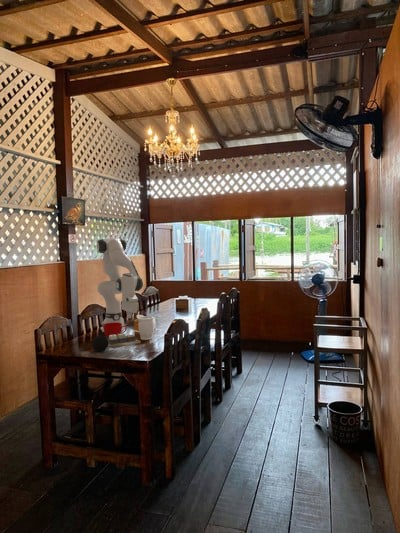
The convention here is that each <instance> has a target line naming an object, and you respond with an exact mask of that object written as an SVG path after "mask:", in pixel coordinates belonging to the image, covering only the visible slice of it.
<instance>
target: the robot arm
mask: <svg viewBox="0 0 400 533" xmlns="http://www.w3.org/2000/svg"><path fill="white" fill-rule="evenodd" d="M96 249H97V252H98V253H100V254H103V255H102V262H103V263H102V264H103V273H104V274H105V275H106V276H108V278H109V280H105V281H102V282H99V284H97V292H98V294H99V295H100V296H102V298H103V299H104V302H105V309H106V311H105V312H106V313H105V318H104V320H103V322H101V327H100V330H101V331H102V333H104V329H103V325H104V324H106V323H114V322H117V323H122V326H125V320H124V318H123V314H122V313H123V312H122V310H123V311H125V312H126V316H127V319H132V315H133V314H137V313H138V311H139V309H138V308H139V306H138V305H139V304H138V301H139V297H137V295H136V292H139V291H140V290H142V288H143V287H144V282H143V279H142V277H141V276H140V274H139V272H138V270H137V268H136V266H135V264H134V262H133V260H132V259H131V258H130V257H129V256H128V255H127V254H126V252H125V251H126V250H127V242H126V239H125V238H122V237H119V238H117V237H111V238H104V239H102V238H101V239H98V241H96ZM119 267H122V268H125V269H127V270H128V272H126V273H125V272H124V273H122V276H121V273H120V269H119ZM120 294H121V301H120V300H119V299H117V297H116V295H120ZM124 331H125V327H122V330H121V332H124Z"/></svg>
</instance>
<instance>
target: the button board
mask: <svg viewBox="0 0 400 533" xmlns="http://www.w3.org/2000/svg"><path fill="white" fill-rule="evenodd" d="M107 339H108V338H107ZM141 342H142V340H140V339H137V337H136V335H134V337H127V336H126V338H121V339H119V338H118V337H117V339H115V340H110V339H108V347H107V349H111V348H118V347H124V346H130V345H137V344H141Z"/></svg>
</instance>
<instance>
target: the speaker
mask: <svg viewBox="0 0 400 533" xmlns="http://www.w3.org/2000/svg"><path fill="white" fill-rule="evenodd" d="M91 347H92V349H93V350H94V351H96V352H104V351H106V350H107V349H108V338H107V337H106V335H96V336H95V337H93V339H92V341H91Z"/></svg>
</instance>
